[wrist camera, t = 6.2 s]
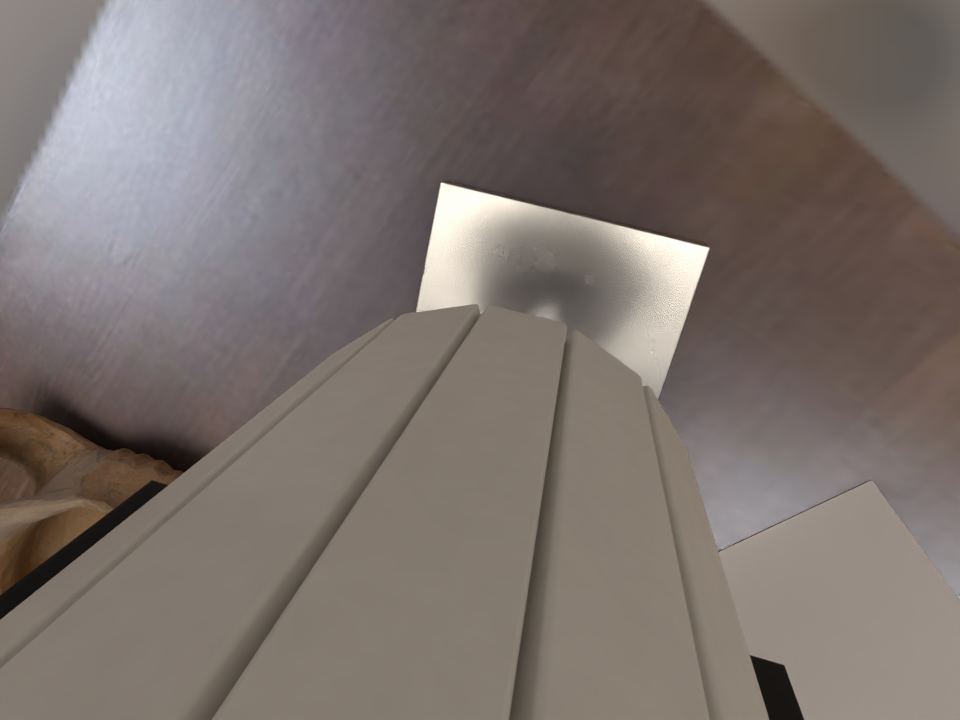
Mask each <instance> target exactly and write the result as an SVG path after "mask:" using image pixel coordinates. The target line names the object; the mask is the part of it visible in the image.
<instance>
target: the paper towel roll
mask: <svg viewBox="0 0 960 720" xmlns="http://www.w3.org/2000/svg"><path fill="white" fill-rule="evenodd" d="M566 332H567V325H566V324H563V323H559V322H555V321H551V320H548V319H544V318H540V317H536V316H532V315H528V314H524V313H520V312H516V311H512V310H508V309H505V308H501V307H497V306H493V305H487V307H486V308H485V310H484V311H483V313H482V314H481V315H480V310H479V306H478V305H477V304H472V305H464V306H457V307H450V308H443V309H436V310H428V311H421V312H414V313H407V314H402V315H401V316H400V317H399V318H397V319H396V320H395V319H394V318H390V319H388V320H387V321H385V322H384V323H382V324H380V325H379V326H377V327H376V328H374V329H372V330H371V331H369V332H367V333H366V334H364V335H363V336H361V337H359V338H358V339H356V340H354V341H353V342H351V343H350V344H348V345H346V346H345V347H343V348H341V349H340V350H338V351H337V352H335V353H333V354H332V355H331V356H330V357H328V358H327V359H326V360H325V361H323V362H322V363H321V364H320V365H318V366H317V367H316V368H315V369H313V370H312V371H311V372H310V373H308V374H307V375H306V376H305V377H303V378H302V379H301V380H300V381H298V382H297V383H296V384H295V385H293V386H292V387H291V388H290V389H288V390H287V391H286V392H285V393H283V394H282V395H281V396H280V397H278V398H277V399H276V400H275V401H273V402H272V403H271V404H270V405H268V406H267V407H266V408H265V409H263V410H262V411H261V412H260V413H258V414H257V415H256V416H255V417H253V418H252V419H251V420H250V421H248V422H247V423H246V424H245V425H243V426H242V427H241V428H240V429H238V430H237V431H236V432H235V433H233V434H232V435H231V436H230V437H228V438H227V439H226V440H225V441H223V442H222V443H221V444H220V445H218V446H217V447H216V448H215V449H213V450H212V451H211V452H210V453H208V454H207V455H206V456H205V457H203V458H202V459H201V460H200V461H198V462H197V463H196V464H195V465H193V466H192V467H191V468H190V469H188V470H187V471H186V472H185V473H183V474H182V475H181V476H179V477H178V478H177V479H176V480H174V481H173V482H172V483H171V484H169V485H168V486H167V487H166V488H164V489H163V490H162V491H161V492H159V493H158V494H157V495H156V496H154V497H153V498H152V499H151V500H149V501H148V502H147V503H146V504H144V505H143V506H142V507H141V508H139V509H138V510H137V511H136V512H134V513H133V514H132V515H131V516H129V517H128V518H127V519H126V520H124V521H123V522H122V523H121V524H119V525H118V526H117V527H116V528H114V529H113V530H112V531H111V532H109V533H108V534H107V535H106V536H104V537H103V538H102V539H101V540H99V541H98V542H97V543H96V544H94V545H93V546H92V547H91V548H89V549H88V550H87V551H86V552H84V553H83V554H82V555H81V556H79V557H78V558H77V559H76V560H74V561H73V562H72V563H71V564H69V565H68V566H67V567H66V568H64V569H63V570H62V571H61V572H59V573H58V574H57V575H56V576H54V577H53V578H52V579H51V580H49V581H48V582H47V583H46V584H44V585H43V586H42V587H41V588H39V589H38V590H37V591H36V592H34V593H33V594H32V595H31V596H29V597H28V598H27V599H26V600H24V601H23V602H22V603H21V604H19V605H18V606H17V607H16V608H14V609H13V610H12V611H11V612H9V613H8V614H7V615H6V616H4V617H3V618H2V619H1V620H0V720H769V717H768V714H767V710H766V707H765V704H764V700H763V697H762V694H761V691H760V687H759V684H758V681H757V677H756V674H755V671H754V668H753V664H752V661H751V658H750V655H749V651H748V648H747V645H746V641H745V638H744V635H743V632H742V628H741V625H740V622H739V618H738V615H737V612H736V609H735V605H734V602H733V599H732V596H731V592H730V589H729V586H728V582H727V579H726V576H725V573H724V569H723V566H722V563H721V559H720V556H719V553H718V550H717V546H716V543H715V540H714V536H713V533H712V530H711V527H710V523H709V520H708V517H707V514H706V510H705V507H704V504H703V500H702V497H701V494H700V491H699V487H698V484H697V481H696V477H695V474H694V471H693V468H692V464H691V461H690V459H689V456H688V452H687V449H686V447H685V445H684V443H683V442H682V440H681V438H680V437H679V435H678V433H677V432H676V430H675V428H674V426H673V425H672V423H671V421H670V420H669V418H668V416H667V415H666V413H665V411H664V410H663V408H662V406H661V404H660V403H659V401H658V399H657V398H656V396H655V394H654V393H653V391H652V389H651V388H650V387H649V386H648V385H647V386H643V385H642V380H641V377H640V375H638V374H637V373H636V372H634V371H633V370H631V369H630V368H629V367H627V366H626V365H625V364H623V363H622V362H621V361H619V360H618V359H616V358H615V357H614V356H612V355H611V354H610V353H608V352H607V351H606V350H604V349H603V348H601V347H600V346H599V345H597V344H596V343H595V342H593V341H592V340H591V339H589V338H588V337H586V336H585V335H584V334H582V333H581V332H580V331H577V330H576V331H574V332H573V333H572V334H571V335H570V336H569V338H568V339H567V340H566V341H565V339H566Z"/></svg>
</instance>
